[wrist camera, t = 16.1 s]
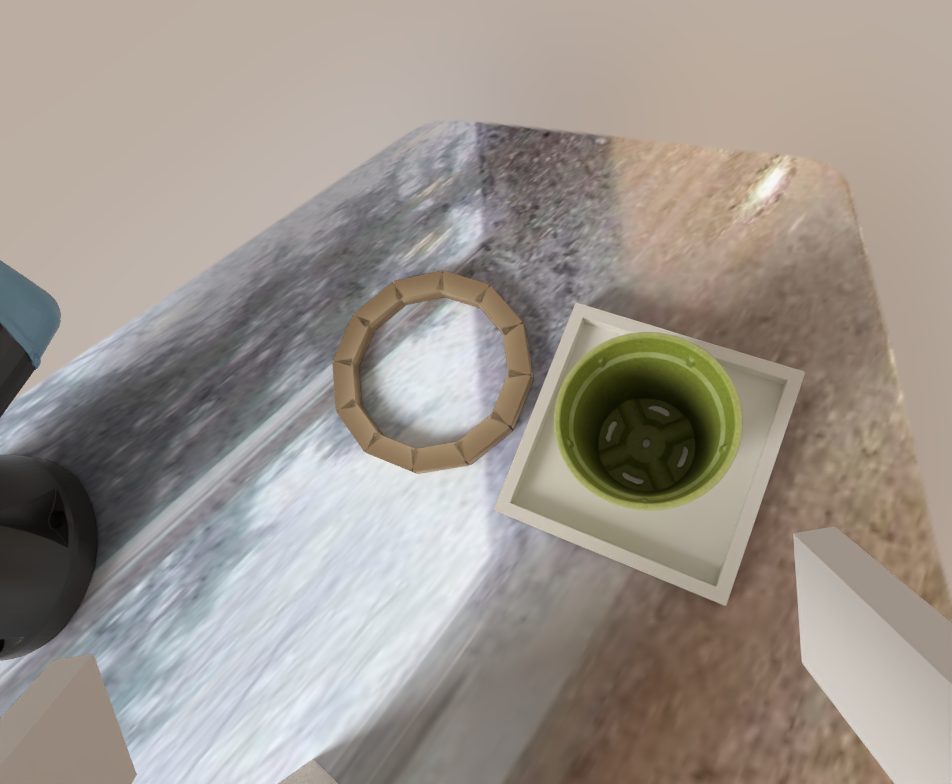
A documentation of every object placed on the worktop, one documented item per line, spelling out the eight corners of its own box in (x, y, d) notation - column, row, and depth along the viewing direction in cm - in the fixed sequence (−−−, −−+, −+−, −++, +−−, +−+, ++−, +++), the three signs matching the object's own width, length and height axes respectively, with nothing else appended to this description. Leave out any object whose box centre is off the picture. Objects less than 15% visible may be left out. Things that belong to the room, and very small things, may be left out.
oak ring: (310, 429, 50) (303, 426, 49) (386, 258, 52) (381, 251, 51) (485, 501, 46) (480, 499, 45) (560, 311, 48) (558, 305, 47)
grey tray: (499, 512, 46) (493, 510, 44) (578, 313, 48) (575, 302, 46) (722, 604, 41) (725, 606, 40) (798, 380, 44) (805, 371, 42)
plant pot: (696, 544, 42) (709, 539, 34) (550, 489, 45) (528, 472, 36) (744, 401, 43) (767, 361, 35) (599, 356, 46) (588, 310, 38)
